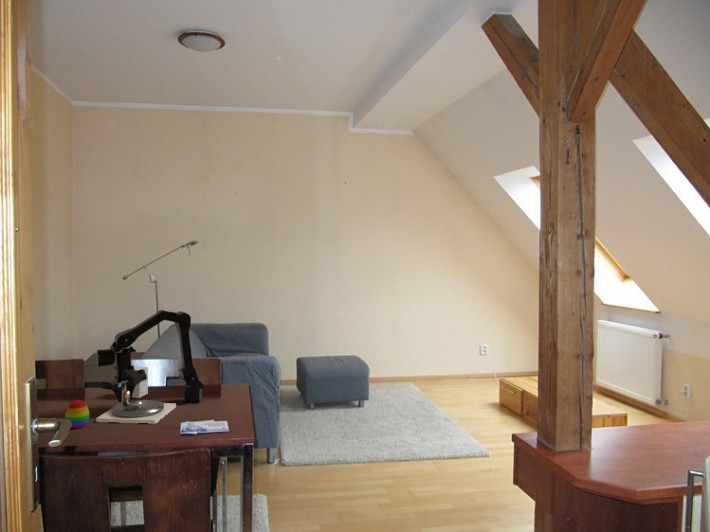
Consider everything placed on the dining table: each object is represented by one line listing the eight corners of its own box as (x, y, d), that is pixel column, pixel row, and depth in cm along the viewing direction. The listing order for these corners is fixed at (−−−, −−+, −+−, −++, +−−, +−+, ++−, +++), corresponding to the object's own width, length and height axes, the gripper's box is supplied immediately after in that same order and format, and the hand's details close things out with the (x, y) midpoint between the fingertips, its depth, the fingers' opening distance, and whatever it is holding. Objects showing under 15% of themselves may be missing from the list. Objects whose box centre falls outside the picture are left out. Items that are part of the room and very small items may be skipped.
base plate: (175, 407, 247) (175, 403, 247) (155, 424, 224) (155, 419, 224) (122, 405, 248) (122, 401, 248) (96, 422, 225) (96, 417, 225)
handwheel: (173, 409, 237) (174, 394, 237) (128, 420, 222) (128, 404, 221) (145, 400, 250) (145, 385, 250) (100, 410, 234) (100, 394, 234)
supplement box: (139, 398, 259) (139, 370, 258) (124, 397, 260) (124, 369, 260) (148, 394, 266) (148, 366, 265) (133, 393, 267) (133, 365, 267)
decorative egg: (81, 421, 225) (81, 396, 225) (93, 425, 220) (93, 399, 220) (61, 426, 218) (61, 400, 218) (72, 431, 214) (72, 404, 213)
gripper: (118, 370, 227) (119, 410, 228) (155, 361, 244) (156, 397, 245) (99, 367, 233) (100, 406, 234) (136, 358, 249) (138, 394, 250)
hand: (125, 400), depth 240 cm, fingers open, 4 cm apart
